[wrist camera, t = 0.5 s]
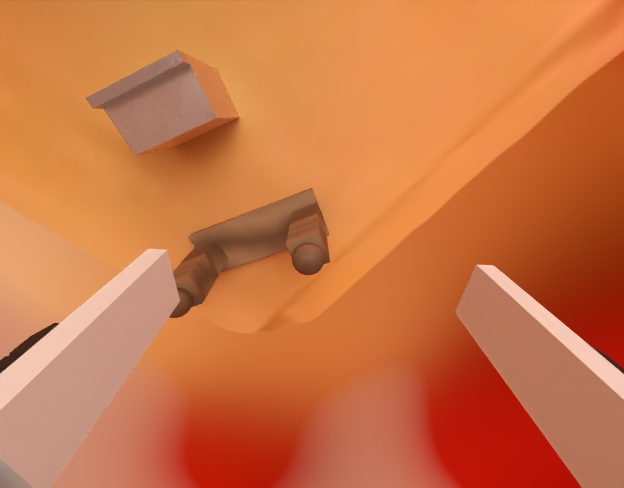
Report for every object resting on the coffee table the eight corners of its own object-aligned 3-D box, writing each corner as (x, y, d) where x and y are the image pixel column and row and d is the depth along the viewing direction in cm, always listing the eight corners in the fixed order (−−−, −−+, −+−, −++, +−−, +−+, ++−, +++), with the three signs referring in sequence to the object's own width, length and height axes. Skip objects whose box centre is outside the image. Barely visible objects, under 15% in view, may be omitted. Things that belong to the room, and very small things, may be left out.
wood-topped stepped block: (150, 103, 29) (86, 98, 20) (217, 69, 27) (177, 49, 19) (175, 146, 31) (127, 157, 23) (239, 117, 29) (212, 117, 21)
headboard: (191, 233, 36) (131, 292, 24) (311, 188, 33) (312, 229, 21) (216, 270, 39) (174, 339, 27) (328, 232, 36) (337, 290, 24)
